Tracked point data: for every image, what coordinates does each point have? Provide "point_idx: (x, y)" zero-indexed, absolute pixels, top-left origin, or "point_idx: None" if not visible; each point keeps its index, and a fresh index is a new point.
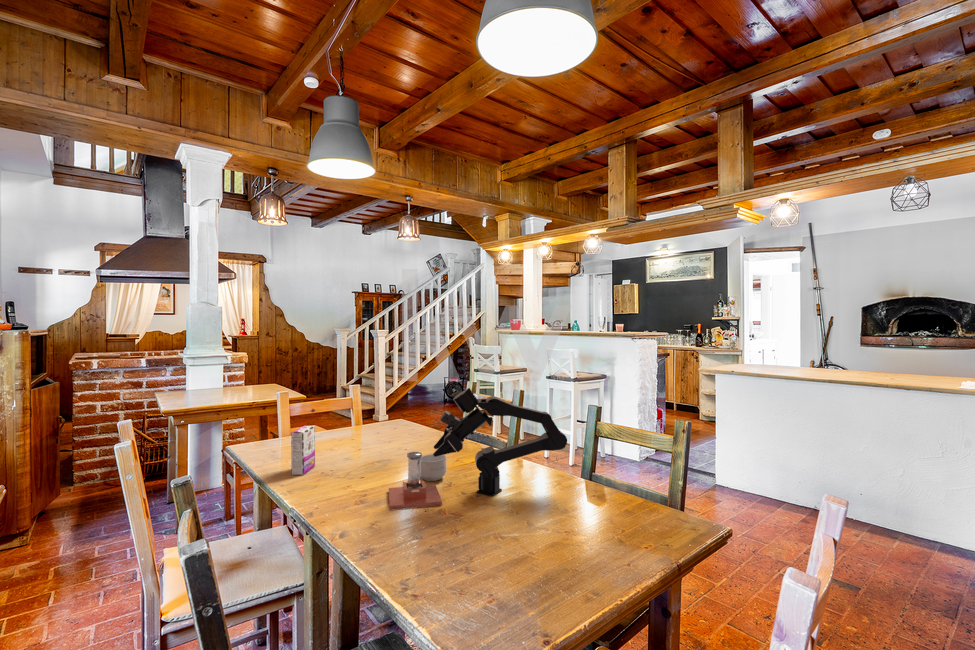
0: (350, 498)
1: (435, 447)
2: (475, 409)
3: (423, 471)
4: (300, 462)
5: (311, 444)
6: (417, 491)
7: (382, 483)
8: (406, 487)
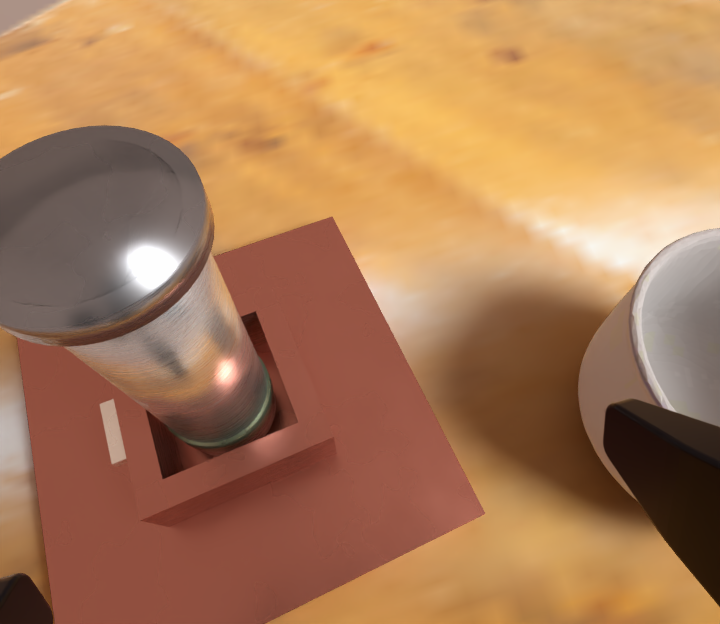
0: (210, 105)
1: (622, 447)
2: None
3: (592, 352)
4: None
5: None
6: (115, 452)
7: (455, 161)
8: None
